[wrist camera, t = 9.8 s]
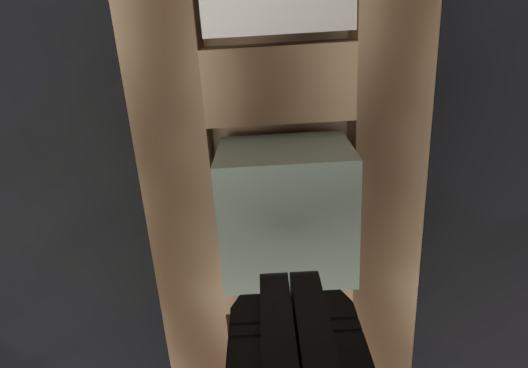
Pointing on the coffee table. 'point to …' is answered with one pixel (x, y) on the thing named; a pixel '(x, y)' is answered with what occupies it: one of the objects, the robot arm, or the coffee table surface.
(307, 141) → the sage button
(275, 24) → the cream button
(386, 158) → the wooden slotted tray
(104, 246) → the coffee table surface
